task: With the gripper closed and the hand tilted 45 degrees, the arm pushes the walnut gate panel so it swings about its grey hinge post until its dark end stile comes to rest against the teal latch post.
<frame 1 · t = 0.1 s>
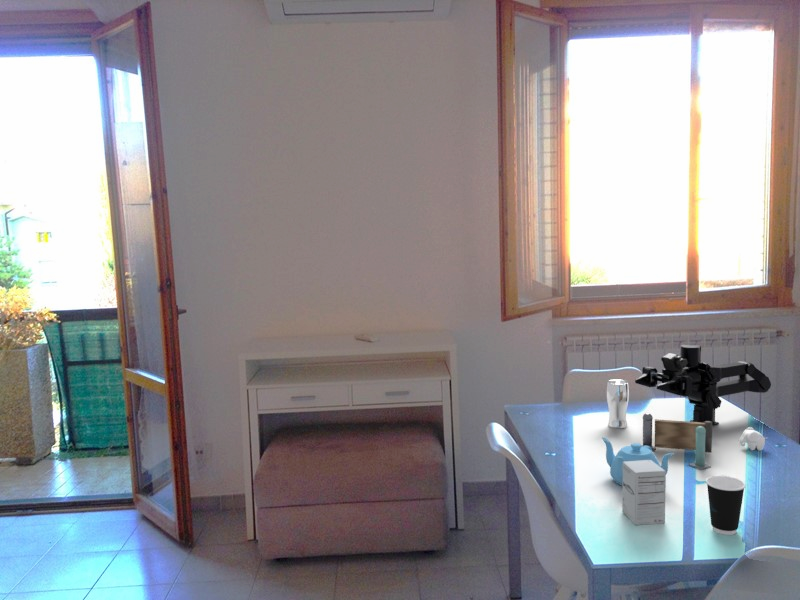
hand: (646, 384, 215), 17 cm above the table, tool horizontal, fingers open, 9 cm apart
elephant figurine: (753, 449, 202), on the table
beer glass: (617, 426, 228), on the table
teapot: (634, 483, 180), on the table
gate: (682, 434, 200), point 5 cm above the table, hinge at 0.0°
hinge post: (647, 449, 205), on the table
latch post: (699, 466, 190), on the table
dixie cup: (724, 530, 151), on the table
supplement box: (643, 518, 159), on the table
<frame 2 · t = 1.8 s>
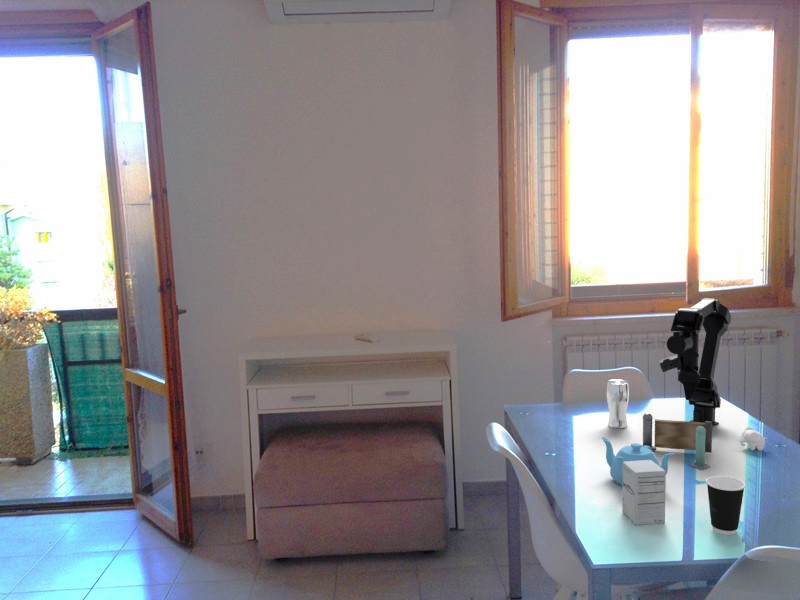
hand: (687, 397, 215), 12 cm above the table, tool pointing down, fingers open, 5 cm apart
nothing on the table moved.
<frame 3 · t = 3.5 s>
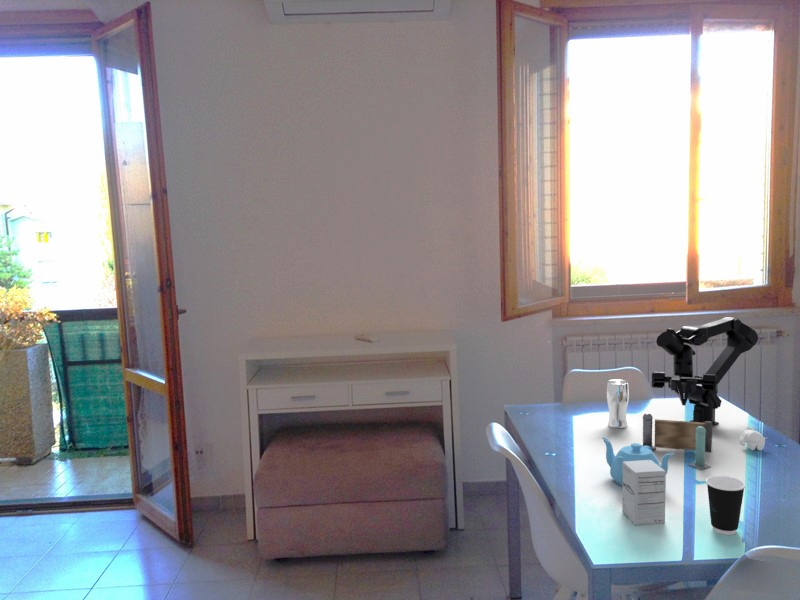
hand: (683, 404, 209), 11 cm above the table, tool tilted 45°, fingers closed
nothing on the table moved.
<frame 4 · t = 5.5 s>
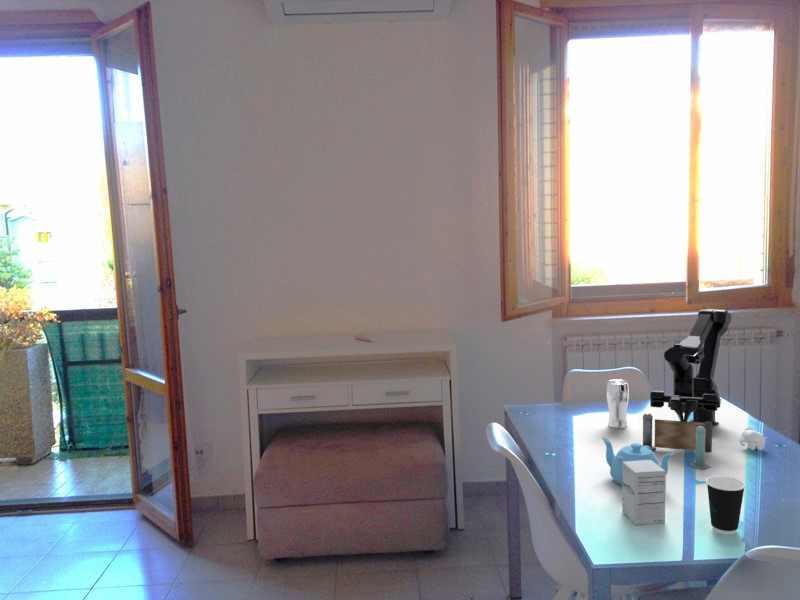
hand: (683, 425, 201), 8 cm above the table, tool tilted 45°, fingers closed, pressing on gate
gate: (682, 435, 200), point 5 cm above the table, hinge at 0.4°, touching gripper
everything else where it was.
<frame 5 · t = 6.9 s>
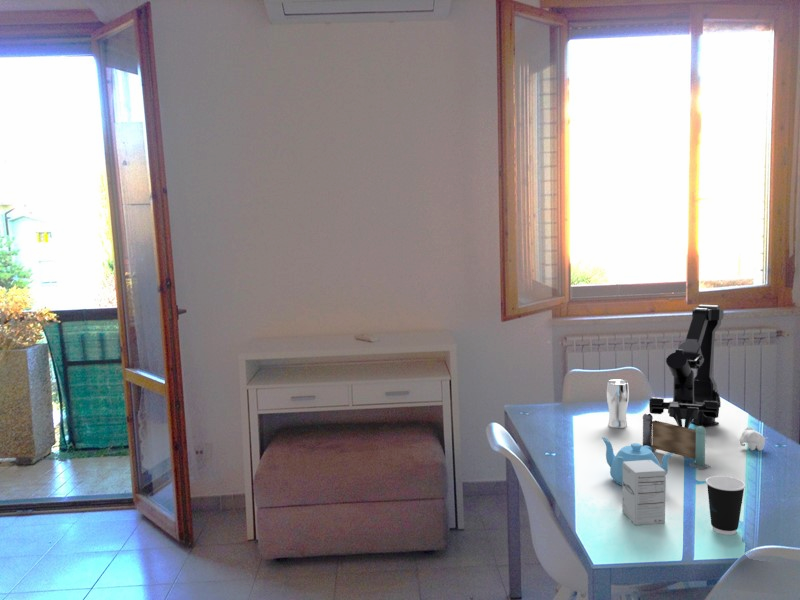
hand: (683, 433, 196), 7 cm above the table, tool tilted 45°, fingers closed
gate: (677, 439, 196), point 5 cm above the table, hinge at 31.5°, touching gripper, latch post
everything else where it was.
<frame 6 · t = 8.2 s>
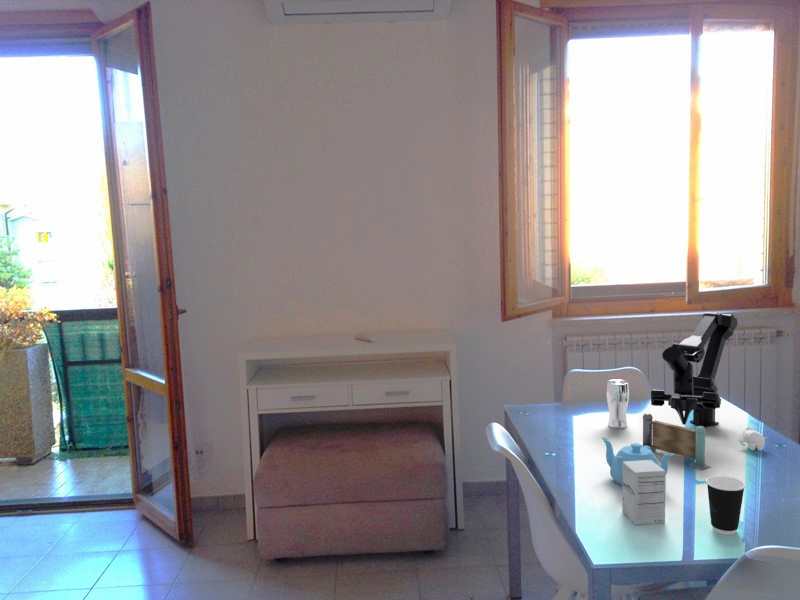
hand: (684, 423, 204), 7 cm above the table, tool tilted 45°, fingers closed
gate: (677, 439, 196), point 5 cm above the table, hinge at 31.5°, touching latch post
everything else where it was.
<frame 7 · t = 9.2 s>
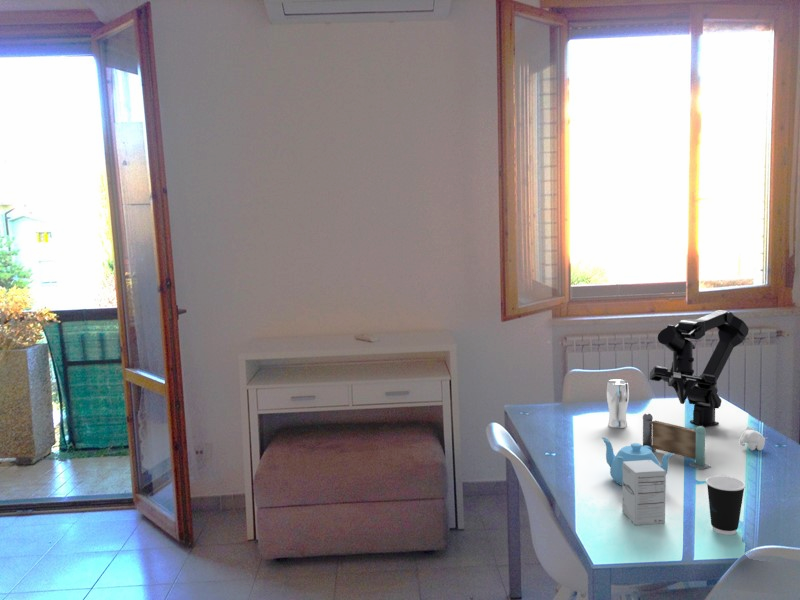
hand: (682, 403, 209), 12 cm above the table, tool tilted 35°, fingers closed
nothing on the table moved.
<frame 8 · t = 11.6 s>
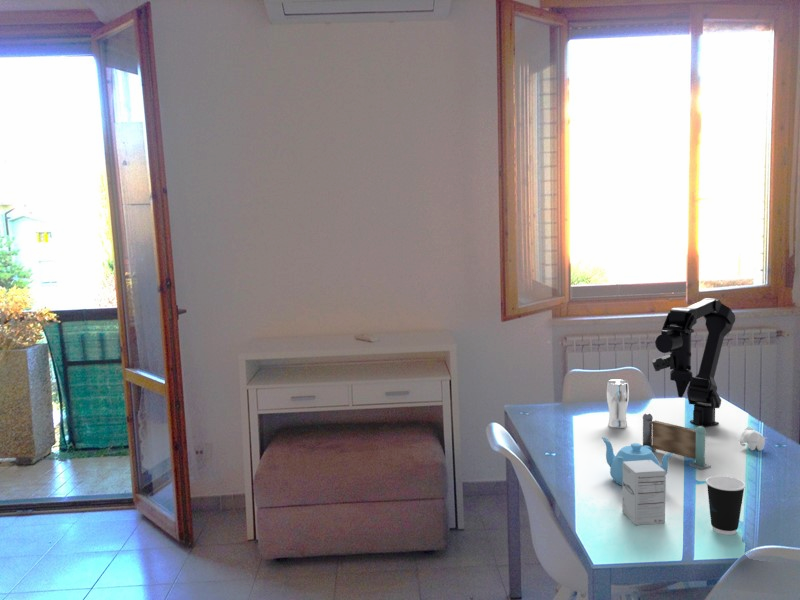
hand: (680, 396, 216), 12 cm above the table, tool pointing down, fingers closed
nothing on the table moved.
at the end: gate at +32° (first picture: +0°); gate 0.0 cm from the hinge post (horizontally) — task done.
